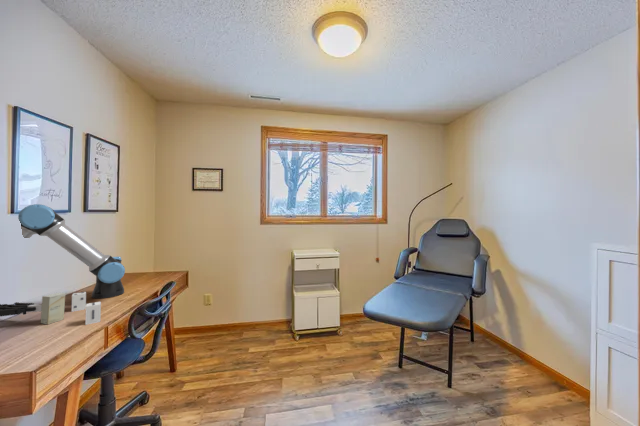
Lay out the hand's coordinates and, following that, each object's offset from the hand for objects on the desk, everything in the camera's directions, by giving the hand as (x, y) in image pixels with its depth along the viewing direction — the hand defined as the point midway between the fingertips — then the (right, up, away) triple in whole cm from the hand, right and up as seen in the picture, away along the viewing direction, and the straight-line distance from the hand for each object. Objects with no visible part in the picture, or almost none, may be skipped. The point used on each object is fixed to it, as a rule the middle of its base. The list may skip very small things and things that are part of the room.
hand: (46, 307), depth 113 cm
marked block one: (+21, -7, +1) cm, 22 cm away
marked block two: (0, -7, +16) cm, 17 cm away
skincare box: (+3, -7, 0) cm, 7 cm away
